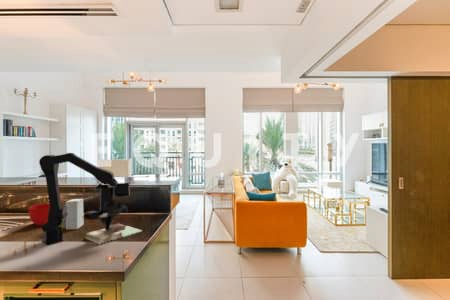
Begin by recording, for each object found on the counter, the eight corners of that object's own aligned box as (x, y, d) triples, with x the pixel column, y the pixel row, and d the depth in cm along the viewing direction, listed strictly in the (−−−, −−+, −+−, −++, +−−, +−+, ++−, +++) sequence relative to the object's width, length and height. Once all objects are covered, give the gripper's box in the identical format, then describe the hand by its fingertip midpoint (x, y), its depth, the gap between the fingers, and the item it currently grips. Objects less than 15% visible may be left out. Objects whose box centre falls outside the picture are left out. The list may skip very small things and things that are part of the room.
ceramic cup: (67, 219, 153) (67, 202, 153) (44, 228, 136) (44, 209, 136) (47, 218, 155) (47, 201, 154) (22, 226, 138) (22, 208, 138)
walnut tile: (111, 232, 122) (111, 228, 122) (105, 230, 126) (105, 226, 126) (125, 229, 128) (125, 225, 128) (118, 227, 132) (119, 223, 132)
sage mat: (123, 237, 124) (123, 236, 124) (108, 232, 131) (108, 231, 131) (142, 231, 133) (142, 230, 133) (127, 226, 140) (127, 225, 140)
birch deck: (99, 244, 115) (99, 238, 114) (85, 238, 121) (85, 233, 121) (121, 237, 123) (121, 232, 123) (107, 232, 130) (107, 227, 130)
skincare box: (77, 229, 134) (77, 201, 134) (65, 229, 134) (65, 201, 133) (83, 224, 143) (84, 198, 143) (72, 225, 142) (72, 198, 142)
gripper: (96, 203, 111) (96, 239, 111) (133, 196, 126) (133, 228, 126) (83, 199, 118) (83, 233, 118) (120, 194, 133) (120, 224, 133)
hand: (106, 229), depth 123 cm, fingers closed
